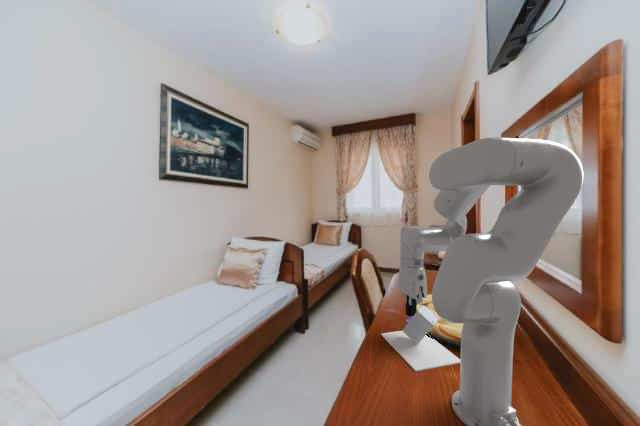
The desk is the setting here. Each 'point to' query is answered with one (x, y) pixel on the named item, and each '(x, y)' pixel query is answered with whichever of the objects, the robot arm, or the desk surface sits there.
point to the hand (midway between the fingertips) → (410, 315)
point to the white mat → (420, 351)
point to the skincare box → (420, 324)
